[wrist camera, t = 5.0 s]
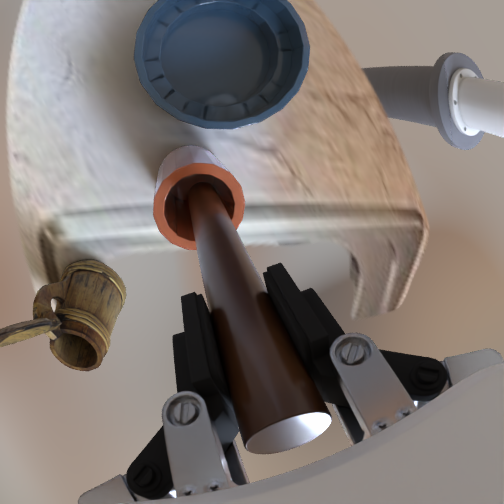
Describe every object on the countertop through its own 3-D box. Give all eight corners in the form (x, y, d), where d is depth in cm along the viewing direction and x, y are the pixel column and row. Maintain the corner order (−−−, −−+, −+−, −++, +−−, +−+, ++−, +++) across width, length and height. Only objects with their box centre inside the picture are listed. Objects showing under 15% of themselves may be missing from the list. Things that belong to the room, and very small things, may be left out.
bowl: (268, -11, 22) (288, -30, 17) (298, 107, 30) (323, 109, 25) (127, 17, 20) (119, -2, 15) (163, 144, 28) (161, 151, 23)
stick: (212, 177, 23) (332, 399, 6) (220, 204, 24) (332, 433, 7) (183, 187, 23) (233, 435, 6) (192, 213, 24) (255, 461, 7)
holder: (211, 136, 29) (232, 151, 20) (227, 194, 32) (253, 233, 23) (150, 157, 28) (140, 182, 19) (170, 213, 32) (172, 261, 22)
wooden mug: (81, 215, 29) (19, 318, 13) (138, 301, 36) (135, 422, 21) (31, 248, 28) (-33, 351, 13) (88, 324, 35) (70, 436, 20)
